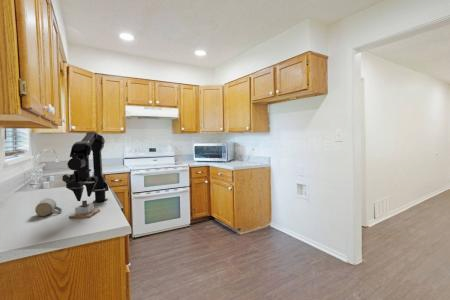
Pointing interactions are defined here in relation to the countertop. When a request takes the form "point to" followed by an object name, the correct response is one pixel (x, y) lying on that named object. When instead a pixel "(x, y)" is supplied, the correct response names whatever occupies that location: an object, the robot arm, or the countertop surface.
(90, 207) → the grey square socket
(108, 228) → the countertop surface
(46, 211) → the ceramic mug
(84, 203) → the keeper
